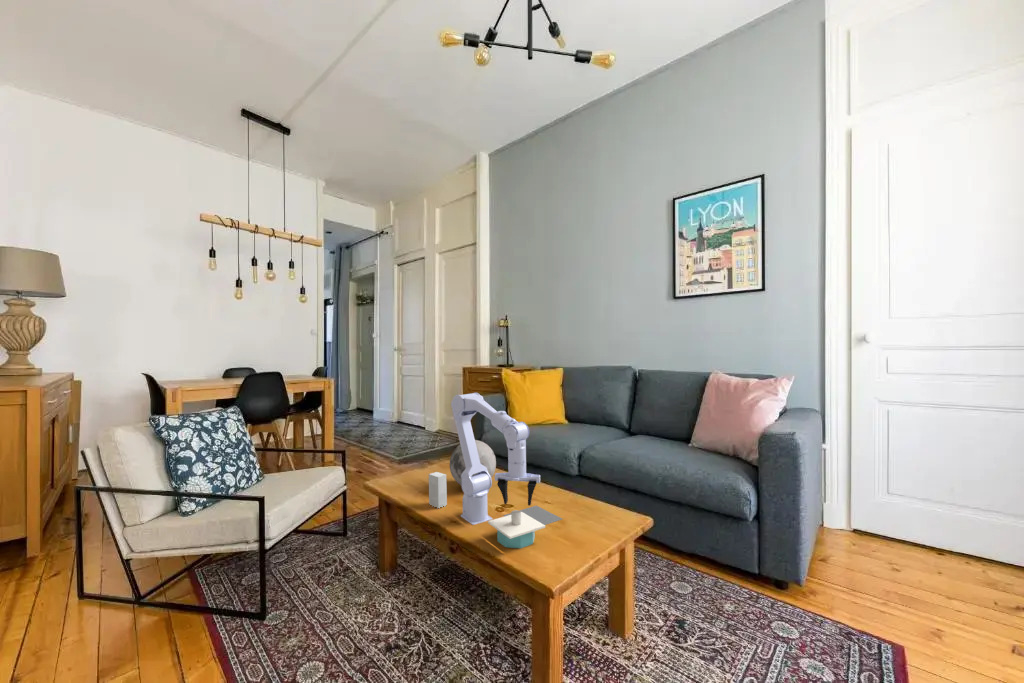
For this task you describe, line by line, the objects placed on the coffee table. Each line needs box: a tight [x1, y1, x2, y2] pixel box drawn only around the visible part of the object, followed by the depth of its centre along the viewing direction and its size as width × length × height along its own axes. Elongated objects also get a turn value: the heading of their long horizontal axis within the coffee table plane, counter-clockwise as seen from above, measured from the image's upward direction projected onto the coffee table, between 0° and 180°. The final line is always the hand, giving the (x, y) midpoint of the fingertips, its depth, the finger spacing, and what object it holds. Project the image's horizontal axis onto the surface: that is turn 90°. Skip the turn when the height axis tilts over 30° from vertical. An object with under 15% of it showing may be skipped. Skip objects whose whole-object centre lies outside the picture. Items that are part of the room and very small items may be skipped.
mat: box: [502, 505, 563, 526], centre depth 145 cm, size 15×15×1 cm
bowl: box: [496, 529, 536, 549], centre depth 129 cm, size 11×11×4 cm
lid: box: [487, 509, 546, 539], centre depth 129 cm, size 13×13×4 cm
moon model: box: [449, 439, 497, 486], centre depth 178 cm, size 20×20×20 cm
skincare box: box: [428, 471, 448, 509], centre depth 158 cm, size 6×4×12 cm
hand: (517, 503), depth 132 cm, fingers open, 7 cm apart
